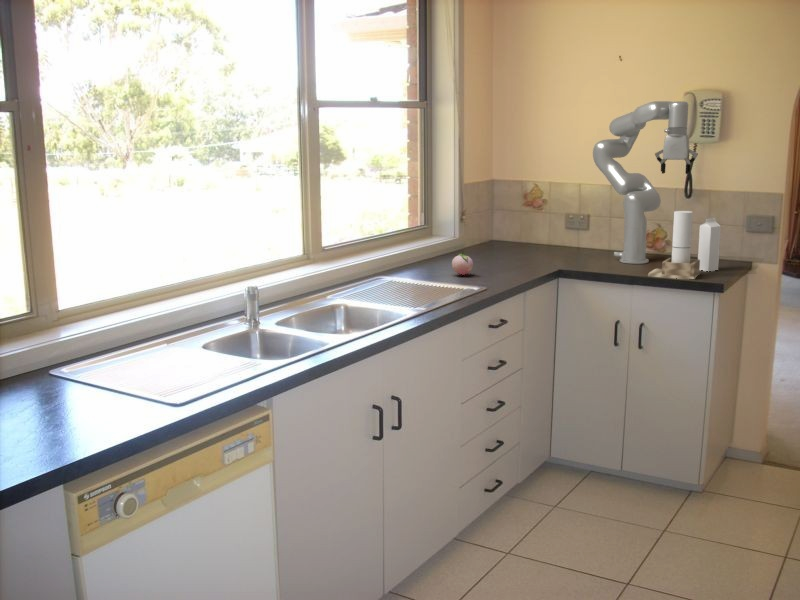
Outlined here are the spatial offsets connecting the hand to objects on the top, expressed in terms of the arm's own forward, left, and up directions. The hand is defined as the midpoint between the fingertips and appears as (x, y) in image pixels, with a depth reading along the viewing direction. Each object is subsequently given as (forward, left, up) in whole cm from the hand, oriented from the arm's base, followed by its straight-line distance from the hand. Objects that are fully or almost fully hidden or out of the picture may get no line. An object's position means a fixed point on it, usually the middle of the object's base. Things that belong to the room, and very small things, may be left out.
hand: (675, 173), depth 359 cm
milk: (+15, +2, -40) cm, 43 cm away
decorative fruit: (-73, -54, -40) cm, 99 cm away
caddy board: (+5, -16, -40) cm, 44 cm away
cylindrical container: (+7, -16, -39) cm, 43 cm away
